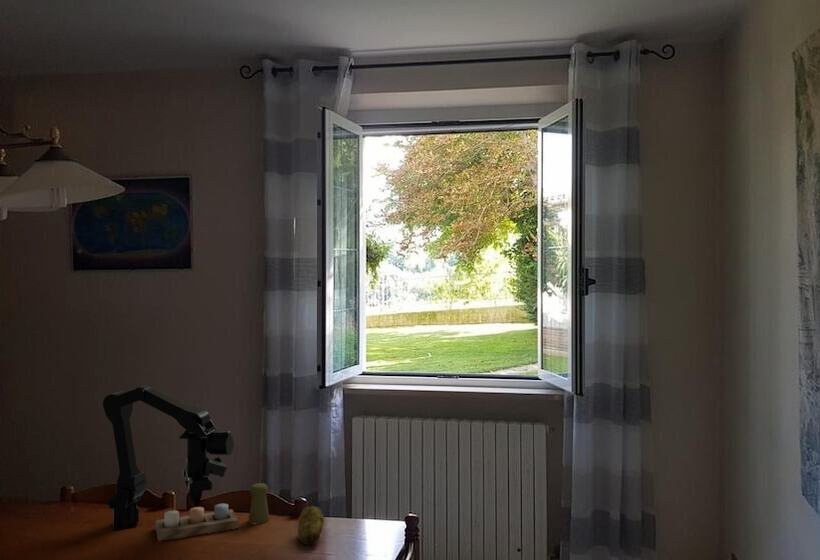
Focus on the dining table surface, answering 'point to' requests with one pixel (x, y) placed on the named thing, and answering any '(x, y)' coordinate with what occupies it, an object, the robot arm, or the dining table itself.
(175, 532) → the button board
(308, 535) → the potato
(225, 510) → the pale blue cylinder
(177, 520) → the cream button
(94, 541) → the dining table surface
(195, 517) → the peach short cylinder
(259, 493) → the green shaker
